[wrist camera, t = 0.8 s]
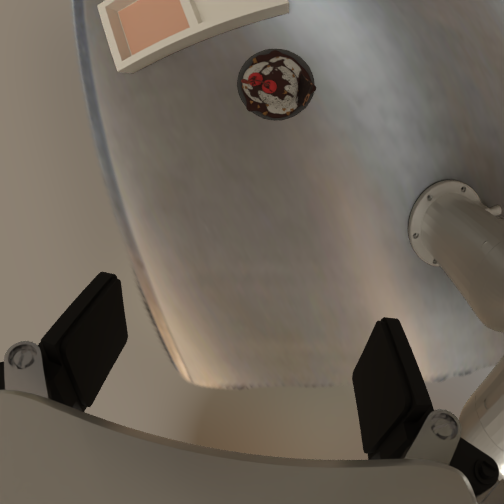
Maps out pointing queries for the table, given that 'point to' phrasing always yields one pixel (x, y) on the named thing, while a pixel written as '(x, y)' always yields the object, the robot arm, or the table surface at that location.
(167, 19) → the carrier tray
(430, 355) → the table surface
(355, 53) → the table surface
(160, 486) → the robot arm
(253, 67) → the sundae
